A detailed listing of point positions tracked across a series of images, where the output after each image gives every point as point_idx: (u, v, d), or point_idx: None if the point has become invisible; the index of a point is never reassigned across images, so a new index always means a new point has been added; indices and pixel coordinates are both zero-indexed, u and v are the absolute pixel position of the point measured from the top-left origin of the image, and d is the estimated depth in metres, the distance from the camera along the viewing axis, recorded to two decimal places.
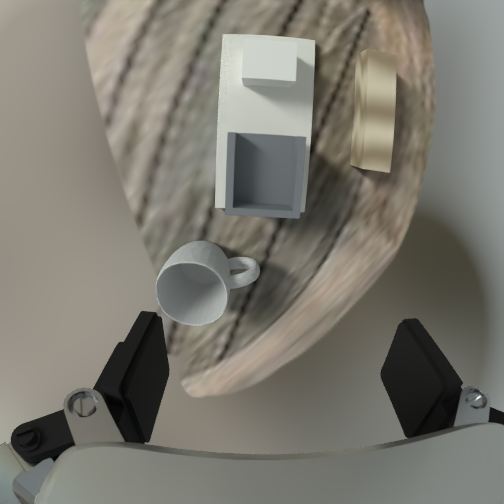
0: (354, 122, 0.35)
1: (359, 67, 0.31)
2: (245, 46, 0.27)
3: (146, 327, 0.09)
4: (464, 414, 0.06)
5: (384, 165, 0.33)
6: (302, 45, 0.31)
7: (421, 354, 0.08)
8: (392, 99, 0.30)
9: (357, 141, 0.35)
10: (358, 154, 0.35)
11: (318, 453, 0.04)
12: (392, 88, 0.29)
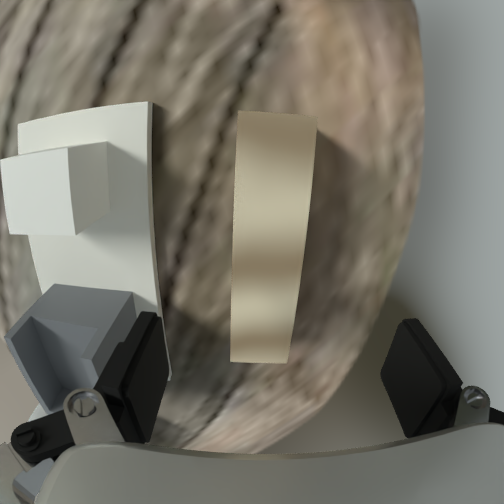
0: None
1: None
2: (3, 174, 0.13)
3: (146, 327, 0.09)
4: (464, 414, 0.06)
5: (275, 354, 0.20)
6: (124, 118, 0.17)
7: (421, 354, 0.08)
8: (297, 235, 0.16)
9: None
10: None
11: (318, 453, 0.04)
12: (299, 208, 0.16)
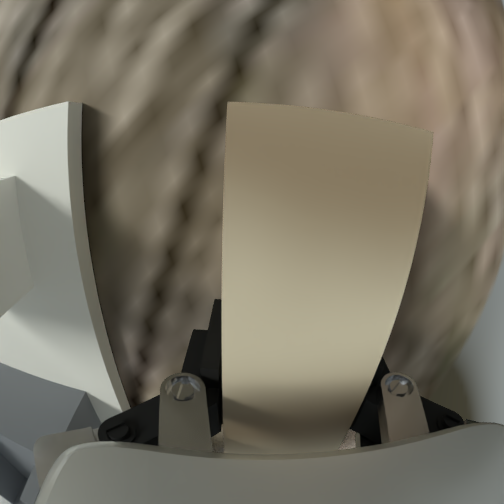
0: None
1: None
2: None
3: None
4: (393, 407, 0.06)
5: None
6: (35, 135, 0.08)
7: None
8: (353, 385, 0.07)
9: None
10: None
11: (318, 453, 0.04)
12: (369, 342, 0.06)
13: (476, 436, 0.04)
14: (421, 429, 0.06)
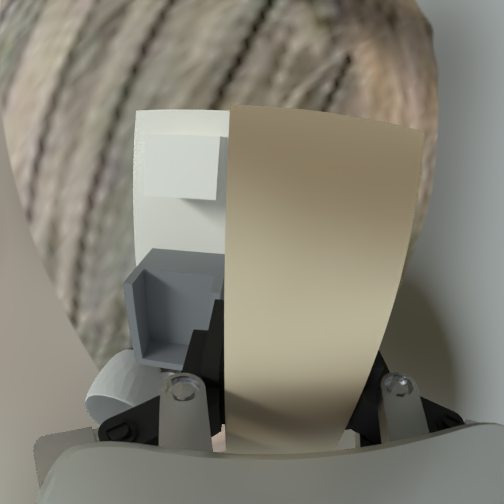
0: None
1: None
2: (147, 147, 0.21)
3: None
4: (393, 407, 0.06)
5: None
6: None
7: None
8: (352, 377, 0.07)
9: None
10: None
11: (318, 453, 0.04)
12: (366, 334, 0.07)
13: (476, 436, 0.04)
14: (421, 429, 0.06)
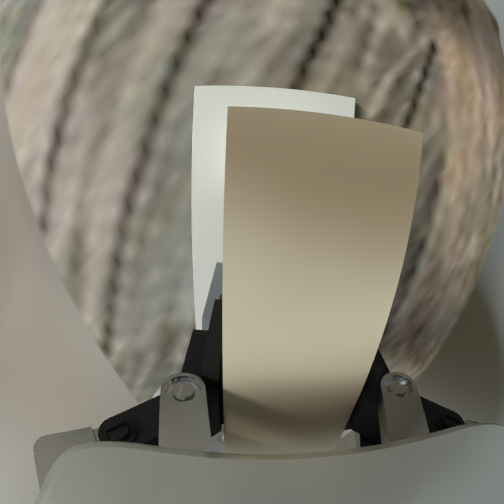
0: None
1: None
2: None
3: None
4: (393, 407, 0.06)
5: None
6: (333, 107, 0.20)
7: None
8: (350, 378, 0.07)
9: None
10: None
11: (318, 453, 0.04)
12: (364, 336, 0.07)
13: (476, 436, 0.04)
14: (421, 429, 0.06)
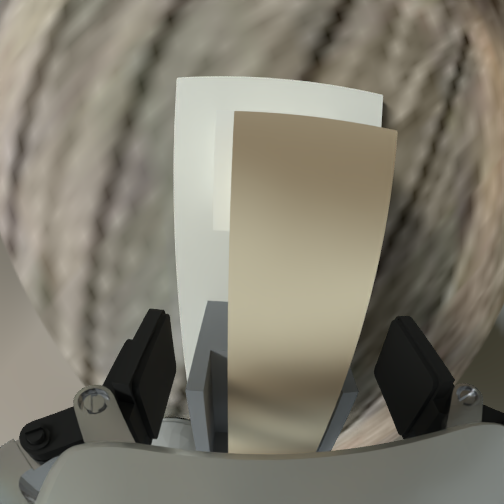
0: None
1: None
2: (220, 133, 0.11)
3: (155, 324, 0.09)
4: (457, 412, 0.06)
5: None
6: (356, 106, 0.15)
7: (413, 351, 0.09)
8: (341, 347, 0.09)
9: None
10: None
11: (318, 453, 0.04)
12: (351, 306, 0.08)
13: (476, 436, 0.04)
14: None
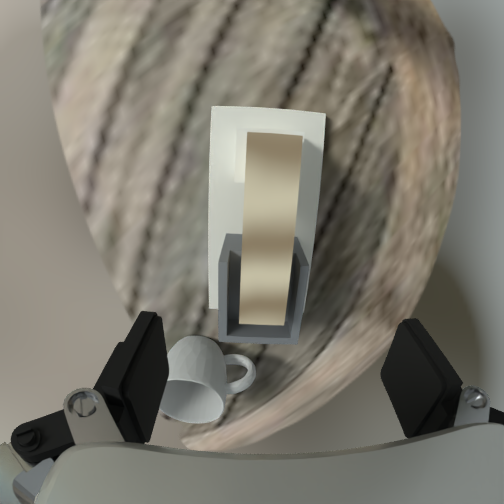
0: None
1: None
2: (238, 138, 0.25)
3: (146, 327, 0.09)
4: (464, 414, 0.06)
5: (274, 317, 0.26)
6: (310, 121, 0.29)
7: (421, 354, 0.08)
8: (289, 220, 0.22)
9: None
10: None
11: (318, 453, 0.04)
12: (290, 200, 0.22)
13: (476, 436, 0.04)
14: None
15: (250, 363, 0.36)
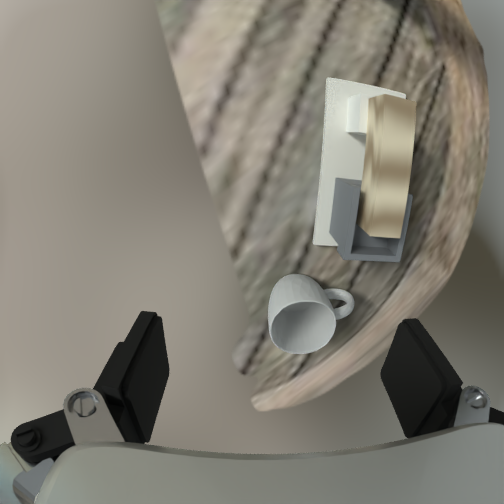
0: (364, 177, 0.33)
1: (372, 113, 0.29)
2: (362, 100, 0.30)
3: (146, 327, 0.09)
4: (464, 414, 0.06)
5: (394, 231, 0.31)
6: None
7: (421, 354, 0.08)
8: (408, 156, 0.28)
9: (366, 202, 0.33)
10: (367, 217, 0.32)
11: (318, 453, 0.04)
12: (409, 142, 0.27)
13: (476, 436, 0.04)
14: None
15: (348, 293, 0.42)
